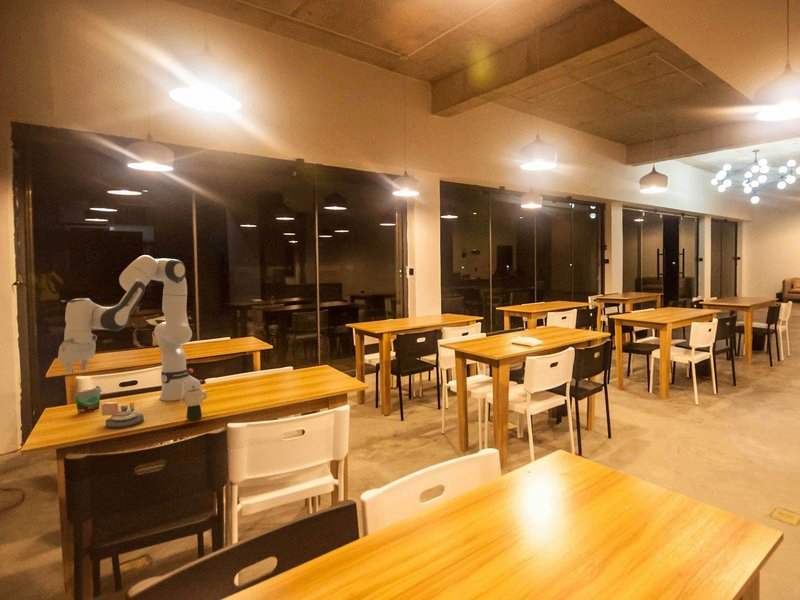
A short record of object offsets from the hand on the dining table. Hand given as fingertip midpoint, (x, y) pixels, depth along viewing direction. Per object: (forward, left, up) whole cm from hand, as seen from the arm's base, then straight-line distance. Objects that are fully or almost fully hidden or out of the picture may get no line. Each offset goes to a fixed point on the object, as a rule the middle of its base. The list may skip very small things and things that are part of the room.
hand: (76, 371), depth 180 cm
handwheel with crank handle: (-13, +9, -24) cm, 29 cm away
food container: (-18, -23, -25) cm, 38 cm away
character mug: (-29, +32, -25) cm, 50 cm away
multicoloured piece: (-12, +7, -22) cm, 26 cm away
